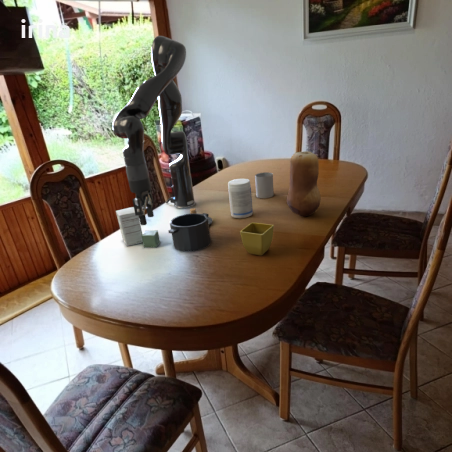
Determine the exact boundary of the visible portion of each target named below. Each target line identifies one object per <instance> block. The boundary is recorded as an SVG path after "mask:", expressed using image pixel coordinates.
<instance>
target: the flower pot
mask: <svg viewBox="0 0 452 452" xmlns="http://www.w3.org/2000/svg"><path fill="white" fill-rule="evenodd" d="M274 227H275V225H274V224H269V223H261V222H253V221H252V222H250V223H249V224H247V225H246V226H245V227H244V228H242V229H241V230H240V231H239V234H240V239H241V243H242V245H243V247H244V249H245V251H246V252H247V254H250V255H257V256H263V255H264V254H265V253H266V252H268V250H269V249H270V248H271V245H272V243H273V238H274V229H275V228H274Z"/></svg>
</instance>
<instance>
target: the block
mask: <svg viewBox="0 0 452 452" xmlns="http://www.w3.org/2000/svg"><path fill="white" fill-rule="evenodd" d="M142 240H143V242H142V244H143V248H144V249H147V248H148V249H149V248H150V249H151V248H152V249H153V248H157V247H158V246H159V245H160V243H161V239H160V235H159V230H158V229H155V230H153V229H152V230H145V231H144V232H142Z"/></svg>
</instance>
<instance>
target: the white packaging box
mask: <svg viewBox="0 0 452 452" xmlns="http://www.w3.org/2000/svg"><path fill="white" fill-rule="evenodd" d="M115 214H116V217H117V222H118V227H119V229H120V234H121V238H122V241H123V242H124V244H125V246H126V247H130V246H134V245H137V244H141V243H142V244H143V240H142V234H143V230H142V225H141V224H140V219H139V216H138V215H137V216H136V215H135V210H134V206H131V207H126V208H123V209H122V208H121V209H118V210H115Z"/></svg>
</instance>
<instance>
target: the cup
mask: <svg viewBox="0 0 452 452" xmlns="http://www.w3.org/2000/svg"><path fill="white" fill-rule="evenodd" d="M254 180H255V195H256V198H258V199H270V198H272V197H274V193H275V191H274V173H272V172H266V171H265V172H257V173H256V174H255V175H254Z"/></svg>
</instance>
